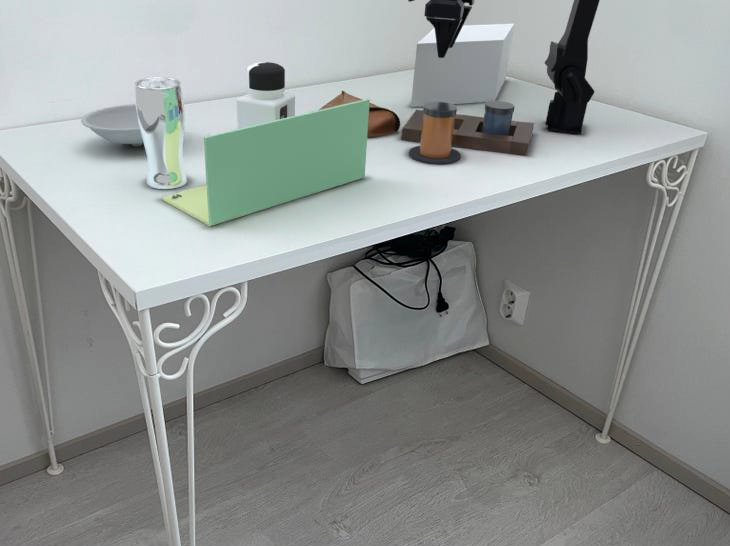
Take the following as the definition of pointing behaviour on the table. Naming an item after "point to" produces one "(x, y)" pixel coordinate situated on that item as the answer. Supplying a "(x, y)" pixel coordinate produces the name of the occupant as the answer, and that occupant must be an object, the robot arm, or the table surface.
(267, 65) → the container
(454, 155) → the coaster
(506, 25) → the block
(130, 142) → the dish
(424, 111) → the amber jar
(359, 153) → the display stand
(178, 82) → the beer glass
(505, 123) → the spice jar
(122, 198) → the table surface
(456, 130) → the jar stand
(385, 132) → the sunglasses case
